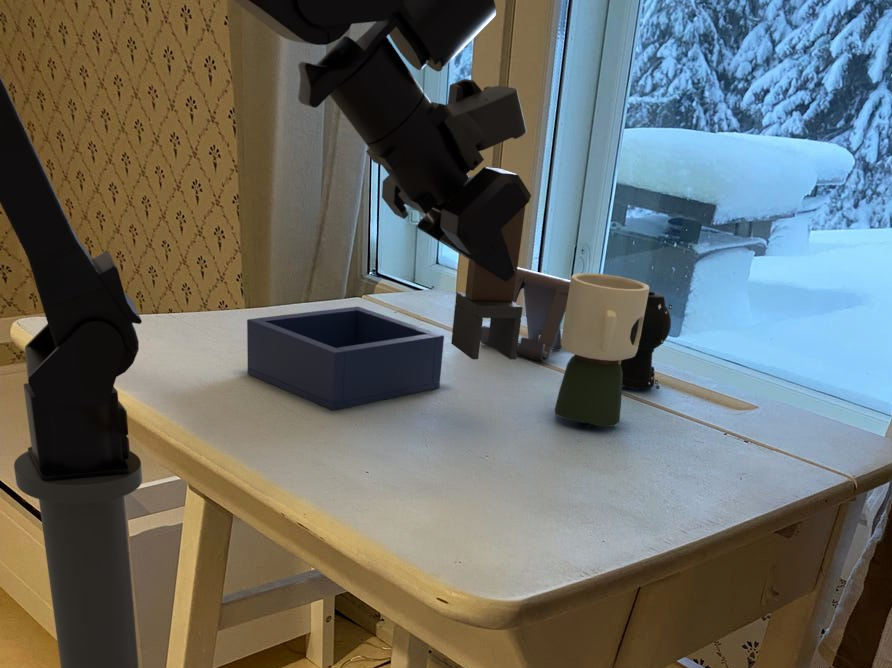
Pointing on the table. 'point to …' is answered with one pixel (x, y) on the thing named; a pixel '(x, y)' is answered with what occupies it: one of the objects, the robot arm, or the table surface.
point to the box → (344, 356)
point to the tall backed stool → (490, 303)
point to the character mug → (599, 345)
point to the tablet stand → (539, 313)
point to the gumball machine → (647, 344)
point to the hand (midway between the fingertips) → (506, 274)
